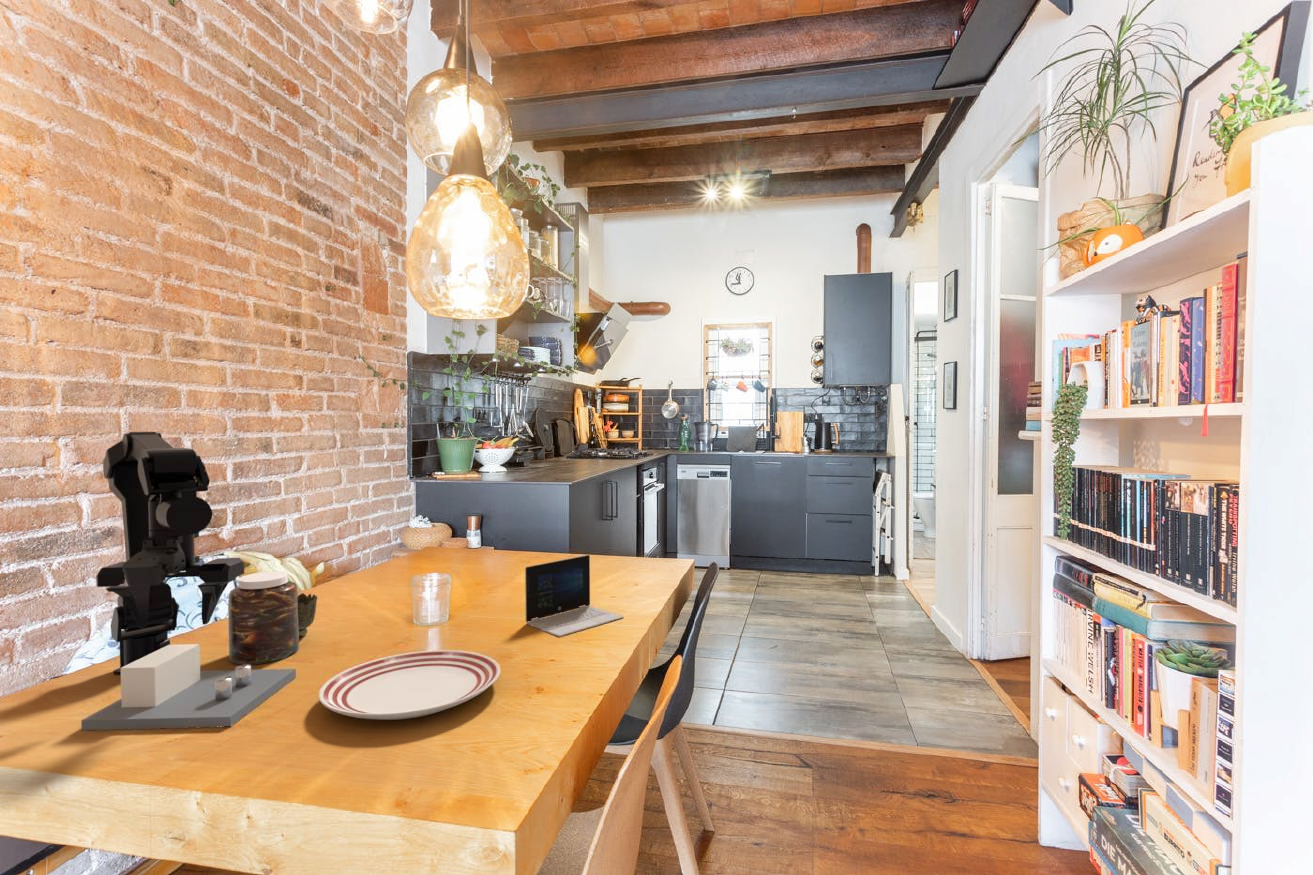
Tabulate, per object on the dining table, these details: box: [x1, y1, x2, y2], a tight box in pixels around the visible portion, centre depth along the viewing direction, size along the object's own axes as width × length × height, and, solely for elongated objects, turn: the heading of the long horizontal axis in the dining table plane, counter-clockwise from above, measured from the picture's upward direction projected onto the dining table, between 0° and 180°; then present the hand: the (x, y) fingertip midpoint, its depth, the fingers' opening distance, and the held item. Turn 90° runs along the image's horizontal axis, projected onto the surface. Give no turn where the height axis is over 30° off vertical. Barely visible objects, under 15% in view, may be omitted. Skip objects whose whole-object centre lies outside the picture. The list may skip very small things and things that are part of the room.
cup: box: [298, 592, 318, 638], centre depth 132 cm, size 8×7×8 cm
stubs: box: [215, 664, 252, 701], centre depth 101 cm, size 2×7×3 cm, turn 2°
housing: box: [120, 643, 201, 707], centre depth 101 cm, size 5×10×6 cm, turn 2°
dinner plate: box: [318, 649, 501, 721], centre depth 103 cm, size 28×27×3 cm
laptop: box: [524, 554, 624, 638], centre depth 141 cm, size 18×12×13 cm
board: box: [80, 668, 297, 731], centre depth 101 cm, size 21×18×2 cm
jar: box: [227, 570, 300, 666], centre depth 122 cm, size 12×12×15 cm
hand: (174, 625), depth 101 cm, fingers open, 9 cm apart
